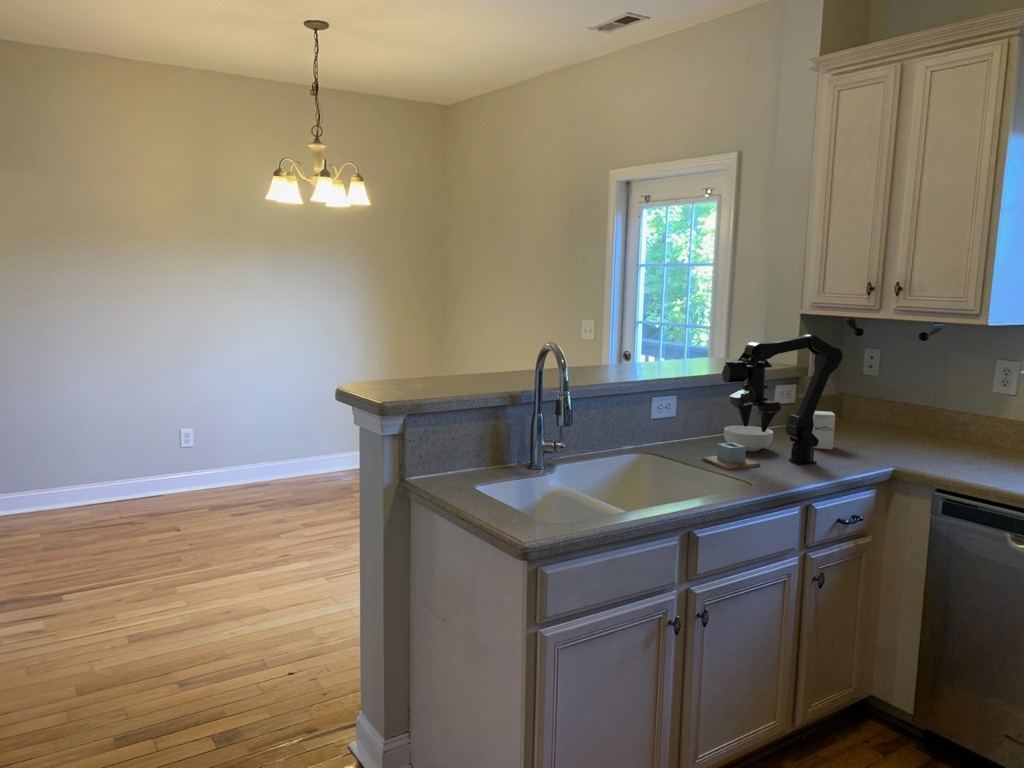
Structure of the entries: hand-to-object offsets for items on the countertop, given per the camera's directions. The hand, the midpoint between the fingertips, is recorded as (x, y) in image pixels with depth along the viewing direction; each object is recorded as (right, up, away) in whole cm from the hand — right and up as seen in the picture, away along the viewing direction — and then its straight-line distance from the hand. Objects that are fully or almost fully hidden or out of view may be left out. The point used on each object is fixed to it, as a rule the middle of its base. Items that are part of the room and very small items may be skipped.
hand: (754, 429), depth 245 cm
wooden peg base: (-7, -11, +2) cm, 14 cm away
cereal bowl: (+5, -9, +23) cm, 25 cm away
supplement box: (+32, -8, +27) cm, 43 cm away
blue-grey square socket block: (-7, -10, +2) cm, 13 cm away
